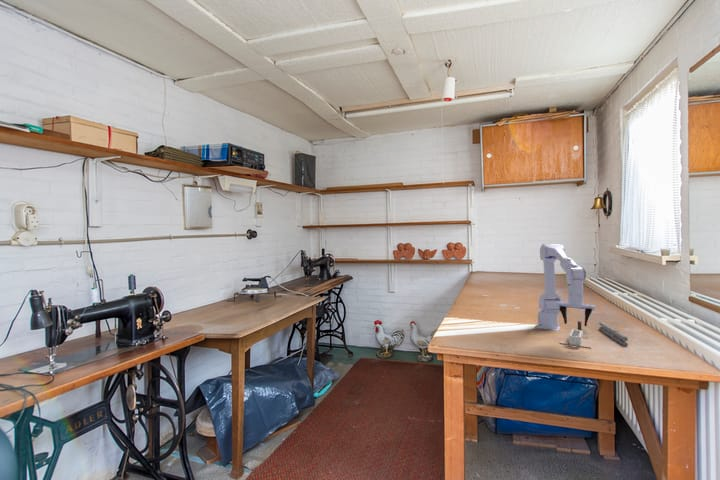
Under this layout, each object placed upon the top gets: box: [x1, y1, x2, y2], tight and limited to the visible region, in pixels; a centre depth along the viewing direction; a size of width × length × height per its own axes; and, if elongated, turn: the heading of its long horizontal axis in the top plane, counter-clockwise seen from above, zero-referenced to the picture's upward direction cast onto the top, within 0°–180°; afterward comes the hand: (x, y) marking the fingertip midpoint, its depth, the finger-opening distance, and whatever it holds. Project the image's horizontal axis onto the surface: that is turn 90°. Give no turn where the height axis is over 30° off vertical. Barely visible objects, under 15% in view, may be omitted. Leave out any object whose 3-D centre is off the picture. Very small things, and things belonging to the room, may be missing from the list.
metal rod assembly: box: [598, 321, 629, 347], centre depth 170 cm, size 26×3×5 cm, turn 166°
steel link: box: [568, 329, 584, 347], centre depth 164 cm, size 4×12×4 cm, turn 144°
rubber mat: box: [558, 342, 592, 350], centre depth 164 cm, size 12×12×1 cm
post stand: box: [567, 321, 591, 340], centre depth 176 cm, size 8×16×6 cm, turn 144°
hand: (575, 324), depth 162 cm, fingers open, 7 cm apart
